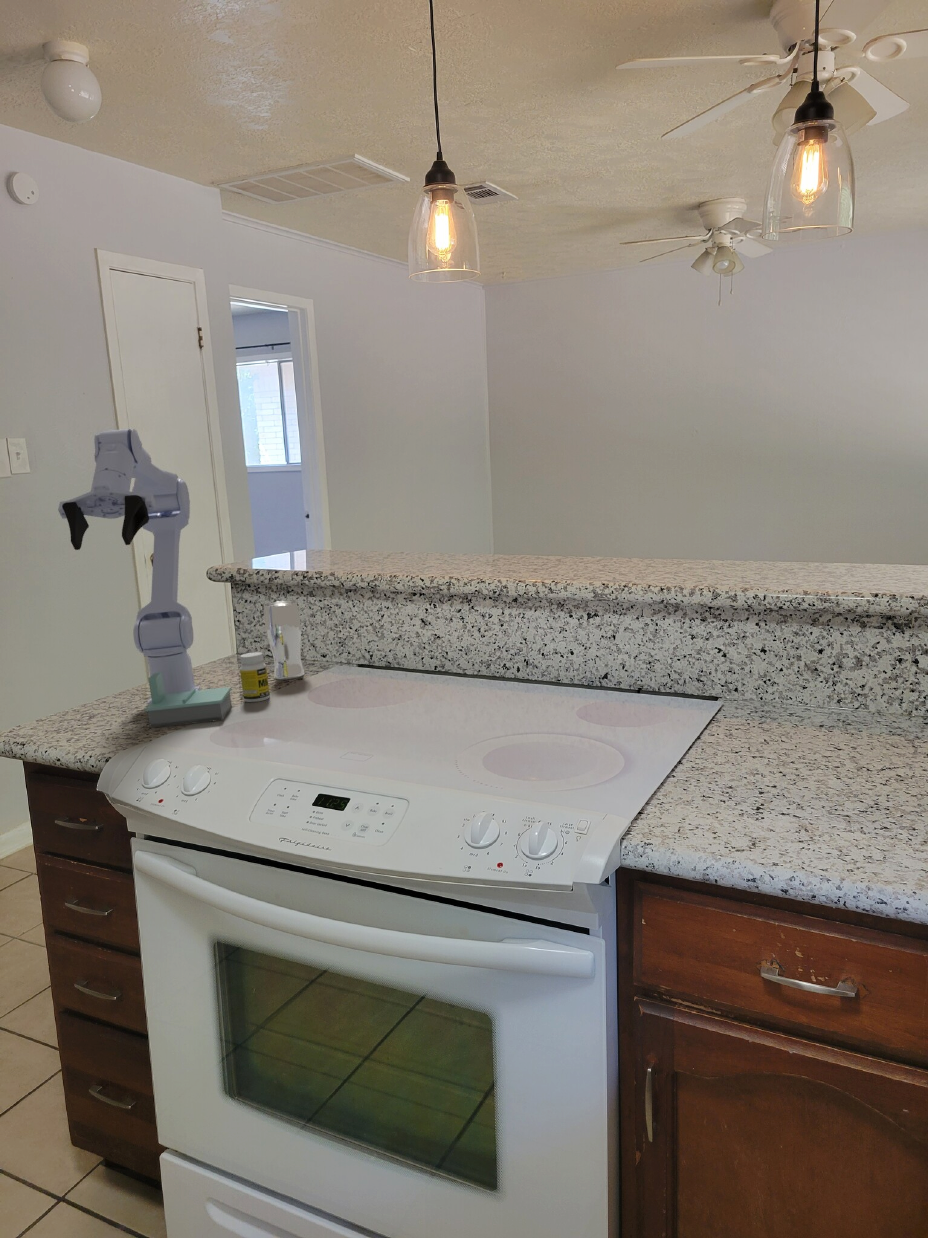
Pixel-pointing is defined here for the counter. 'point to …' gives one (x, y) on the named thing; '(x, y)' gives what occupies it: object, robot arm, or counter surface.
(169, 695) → the lid
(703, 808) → the counter surface
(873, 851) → the counter surface
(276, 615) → the beer glass
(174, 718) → the tub
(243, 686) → the supplement bottle
